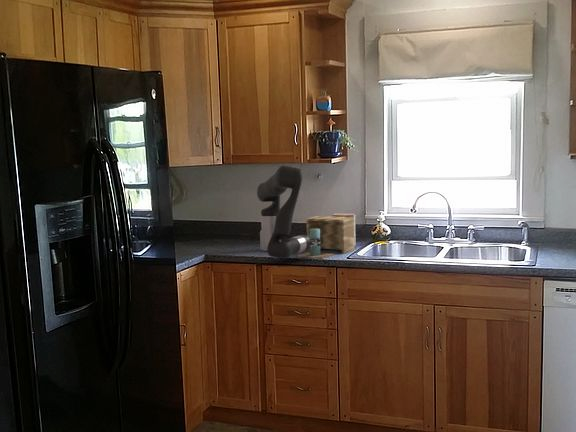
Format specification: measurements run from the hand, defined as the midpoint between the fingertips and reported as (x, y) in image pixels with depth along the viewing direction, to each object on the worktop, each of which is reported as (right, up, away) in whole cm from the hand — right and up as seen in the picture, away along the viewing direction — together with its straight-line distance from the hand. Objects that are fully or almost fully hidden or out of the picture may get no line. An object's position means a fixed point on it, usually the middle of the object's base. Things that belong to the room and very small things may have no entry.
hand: (317, 239), depth 331 cm
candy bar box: (+15, -5, +25) cm, 29 cm away
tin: (-1, -7, -1) cm, 7 cm away
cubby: (+7, -6, +12) cm, 15 cm away
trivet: (-1, -8, -1) cm, 8 cm away
